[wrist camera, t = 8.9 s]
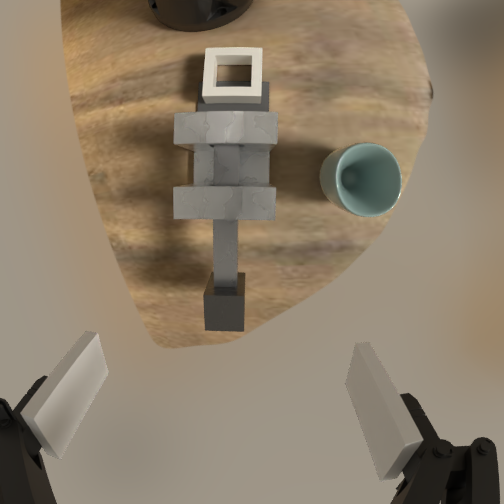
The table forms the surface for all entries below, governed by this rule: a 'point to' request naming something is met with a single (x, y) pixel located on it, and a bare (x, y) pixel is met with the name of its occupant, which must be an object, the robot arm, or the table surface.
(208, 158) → the bearing block
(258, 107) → the mat
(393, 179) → the cup
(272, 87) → the table surface
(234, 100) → the block
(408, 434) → the robot arm
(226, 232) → the shaft
